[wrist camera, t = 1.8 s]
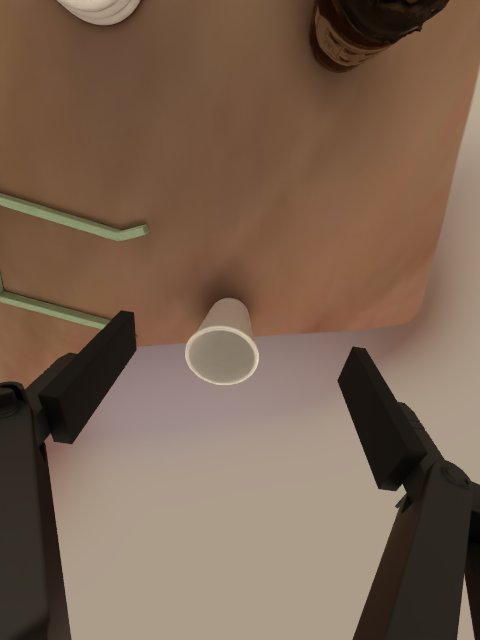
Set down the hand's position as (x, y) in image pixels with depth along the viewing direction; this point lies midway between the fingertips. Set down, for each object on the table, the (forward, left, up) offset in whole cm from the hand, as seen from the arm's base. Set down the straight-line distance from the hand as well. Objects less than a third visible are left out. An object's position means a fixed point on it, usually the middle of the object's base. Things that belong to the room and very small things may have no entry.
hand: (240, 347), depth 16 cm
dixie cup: (0, -9, -20) cm, 22 cm away
